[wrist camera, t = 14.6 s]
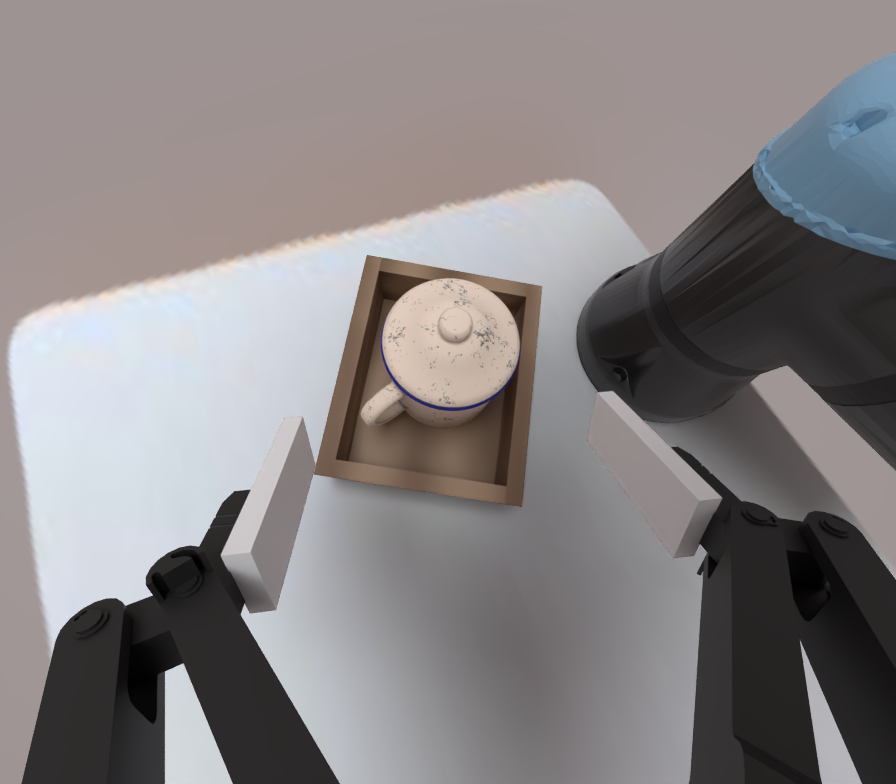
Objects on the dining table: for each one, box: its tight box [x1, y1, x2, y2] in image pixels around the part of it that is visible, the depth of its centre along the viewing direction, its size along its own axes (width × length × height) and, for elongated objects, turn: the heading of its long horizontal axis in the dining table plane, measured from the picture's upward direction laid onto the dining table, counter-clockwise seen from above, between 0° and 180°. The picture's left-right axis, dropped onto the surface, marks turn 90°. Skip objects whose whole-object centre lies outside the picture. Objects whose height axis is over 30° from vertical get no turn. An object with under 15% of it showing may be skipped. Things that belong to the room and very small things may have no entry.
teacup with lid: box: [361, 278, 520, 428], centre depth 26 cm, size 12×9×12 cm
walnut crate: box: [314, 255, 542, 507], centre depth 30 cm, size 14×17×6 cm
